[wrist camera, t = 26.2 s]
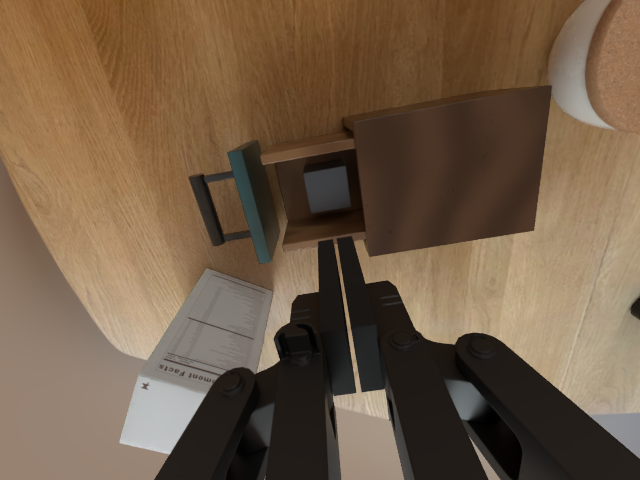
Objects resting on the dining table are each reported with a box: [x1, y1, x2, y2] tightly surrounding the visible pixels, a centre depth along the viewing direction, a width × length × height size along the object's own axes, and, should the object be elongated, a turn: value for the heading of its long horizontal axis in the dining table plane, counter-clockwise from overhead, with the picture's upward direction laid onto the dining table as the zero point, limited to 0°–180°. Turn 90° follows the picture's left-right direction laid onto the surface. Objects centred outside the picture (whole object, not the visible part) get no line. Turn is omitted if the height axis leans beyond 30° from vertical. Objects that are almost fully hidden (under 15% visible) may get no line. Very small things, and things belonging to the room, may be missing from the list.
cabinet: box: [343, 85, 552, 257], centre depth 29 cm, size 15×12×10 cm
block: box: [303, 159, 351, 214], centre depth 30 cm, size 4×4×4 cm
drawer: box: [189, 130, 366, 264], centre depth 30 cm, size 18×10×8 cm, turn 100°
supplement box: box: [119, 268, 273, 454], centre depth 33 cm, size 10×9×17 cm
